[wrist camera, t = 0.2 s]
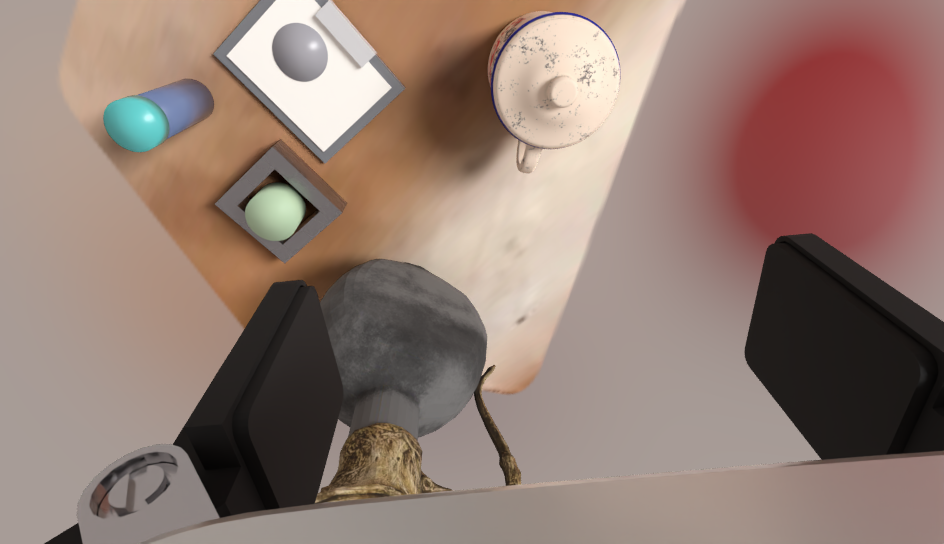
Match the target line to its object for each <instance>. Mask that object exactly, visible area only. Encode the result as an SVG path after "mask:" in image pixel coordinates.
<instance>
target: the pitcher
mask: <svg viewBox="0 0 944 544" xmlns="http://www.w3.org/2000/svg"><path fill="white" fill-rule="evenodd" d="M320 305H321V309H322V313H323V316H324V320H325V323H326V327H327V330H328V334H329V338H330V341H331V345H332V348H333V352H334V356H335V359H336V363H337V366H338V370H339V373H340V377H341V381H342V385H343V402H342V406H341V410H340V413H339V417H338V419H339V420H340V421H342V422H343V423H345V424H347V425H348V426H349V427H350V431H349V436H348V438H347V440H346V442H345V444H344V446H343V448H342V450H341V452H340V460H339V467H338V471H337V473H336V475H335V477H334V478H333V480H332V481H331V483H330V485H329V486H326V487H323V488H322V489H321V492H320V493H318V494H317V498H316V501H315V504H318V503H326V502H337V501H347V500H357V499H368V498H378V497H389V496H399V495H411V494H422V493H433V492H444V491H453V490H451V489H448V488H444V487H442V486H439V485H437V484H435V483H434V482H433V481H432V480H431V479H430V478H428V477H427V476H426V475H425V474H424V473H423V472H422V471H421V461H422V450H421V447H420V445H419V443H418V442H417V440H418V437H422V436H424V435H426V434H429V433H431V432H434V431H436V430H438V429H439V428H441V427H442V426H444V425H445V424H446V423H448V422H449V421H451V420H452V419H453V418H455V417H456V416H457V415H458V413H460V411H461V410H462V409H463V408H464V407H465V406H466V404H467V403H468V401H469V400H470V399H471V397H472V395H473V393H474V396H475V401H476V405H477V408H478V411H479V413H480V415H481V418H482V420H483V422H484V425H485V427H486V429H487V431H488V433H489V435H490V437H491V439H492V441H493V443H494V445H495V447H496V449H497V451H498V453H499V457H500V460H499V461H500V462H499V465H500V467H501V468H502V470H503V472H504V476H505V482H506V486H511V485H521V472H520V470H519V469H518V467H517V464H516V462H515V458H514V457H513V456H512V455H511V453H510V450H509V447H508V445H507V444H506V442H505V440H504V438H503V437H502V435H501V434H500V432H499V430H498V428H497V426H496V425H495V423H494V421H493V419H492V417H491V416H490V414H489V412H488V410H487V408H486V406H485V404H484V401H483V399H482V394H481V392H482V386H483V384H484V382H485V380H486V378H487V377H488V376H489V375H490V374H491V373H492V372H493V371H494V369H495V365H493V366H491V367H489V368H488V369H487V371H486V372H485V373H484V375H482V371H483V368H484V365H485V362H486V348H487V334H486V330H485V327H484V325H483V323H482V320H481V318H480V316H479V314H478V312H477V311H476V309H475V307H474V306H473V304H472V303H471V302H470V300H469V299H468V298H467V296H465V295H464V294H463V293H462V292H460V291H459V290H457V289H456V288H454V287H453V286H452V285H450V284H449V283H447V282H445V281H444V280H442V279H441V278H439V277H437V276H435V275H433V274H432V273H430V272H429V271H427V270H425V269H424V268H422V267H421V266H417V265H413V264H410V263H401V262H398V261H392V260H385V259H374V260H370V261H368V262H366V263H364V264H361V265H358V266H356V267H354V268H353V269H351V270H350V271H348V272H347V273H345V274H344V275H343V276H342V277H340V278H339V279H338V280H337V281H336V282H335V283H334V284H333V285H332V286H331V287H330V288H329V289H328V291H327V292H326V294H325V295H324V297H323V299H322V300H321V302H320ZM481 375H482V376H481Z"/></svg>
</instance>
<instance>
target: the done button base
mask: <svg viewBox="0 0 944 544" xmlns="http://www.w3.org/2000/svg"><path fill="white" fill-rule="evenodd" d="M273 170H276V171H277V172H278V173H279V174H280V175H281V176H283V177H284V178H285V179H286V180H287V181H288V182H289V183H290V184H291V185H292V186H293V187H294V188H296V189H297V190H298V191H299V192H300V193H301V194H302V195H303V196H304V197H305V198H306V199H307V200H308V201H310V202H311V203H312V204H313V205H314V206H315V207H316V208H317V210H316V211H315V212H314V213H313V214H312V215H311V216H310V217H308V218H307V219H306V220H305V221H304V222H303V223H302V224H301V225H300V226H298V227H297V229H296V230H295V232H294V233H293V234H292V235H291V236H290V237H289V238H287V239H285V240H281V241H270V240H266V239H264V238H261V237H260V236H258V235H257V234H255V233H254V232H253V231H252V230H251V228H250V227H249V226H248V224H247V221H246V218H245V210H246V206H247V204H248V203H249V201H250V200H251V199H249V198H248V197H247V196H248V195H249V194H250V193H251V192H252V191H253V190H254V189H255V188H256V187H257V186H258V185H259V184H260V183H261V182H262V181H263V180H264V179H265V178H266V177H267V176H268V175H269V174H270V173H271V172H272V171H273ZM346 204H347V202H345V201H344V200H343V199H342V198H341V197H340V196H339V195H338V194H337V193H336V192H335V191H334V190H333V189H332V188H331V187H330V186H329V185H328V184H327V183H326V182H325V181H324V180H323V179H322V178H320V177H319V176H318V175H317V174H316V173H315V172H314V171H313V170H312V169H311V168H310V167H309V166H308V165H307V164H306V163H305V162H304V161H303V160H302V159H301V158H300V157H299V156H298V155H297V154H296V153H294V152H293V151H292V150H291V149H290V148H289V147H288V146H287V145H286V144H285V143H284V142H283V141H282V140H279V141H278V142H277V143H276V144H275V145H274V146H273V147H272V148H271V149H270V150H269V151H268V152H267V153H266V154H265V155H264V156H263V157H262V158H261V159H260V160H259V161H258V162H257V163H256V164H255V165H253V166H252V167H251V168H250V169H249V170H248V171H247V172H246V173H245V174H244V175H243V176H242V177H241V178H240V179H239V180H238V181H237V182H236V183H235V184H234V185H233V186H232V187H231V188H230V189H229V190H228V191H227V192H226V193H225V194H224V195H223V196H222V197H221V198H220V199H219V200H218V201H217V202H216V203H215V205H216V206H217V207H218V208H220V209H221V210H222V211H223V212H224V213H226V214H227V215H228V216H229V217H230V218H232V219H233V220H234V221H235V222H236V223H237V224H239V225H240V226H241V227H242V228H243V229H245V230H246V231H247V232H248V233H249V234H251V235H252V236H253V237H254V238H255V239H256V240H258V241H259V242H260V243H261V244H262V245H264V246H265V247H266V248H267V249H268V250H270V251H271V252H272V253H273V254H274V255H275V256H277V257H278V258H279V259H280V260H281V261H283V262H284V263H286V262H287V261H288V260H289V259H290V258H291V257H293V256H294V255H295V254H296V253H297V252H298V251H299V250H301V249H302V248H303V247H304V246H305V245H306V244H307V243H309V242H310V241H311V240H312V239H313V238H314V237H315V236H317V235H318V234H319V233H320V232H321V231H322V230H323V229H324V228H326V227H327V226H328V225H329V224H330V223H331V222H332V221H334V220H335V219H336V218H337V217H338V216H339V215H340V214H342V212H343V210H344V208H345V206H346Z"/></svg>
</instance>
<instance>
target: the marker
mask: <svg viewBox="0 0 944 544" xmlns="http://www.w3.org/2000/svg"><path fill="white" fill-rule="evenodd" d="M213 109H214V101H213V97H212V95H211V93H210V91H209V90H208V89H207V88H206V86H204V85H203V84H202V83H200V82H198V81H196V80H193V79H183V80H180V81H177V82H174V83H171V84H168V85H165V86H162V87H159V88H156V89H154V90H151V91H148V92H145V93H142V94H139V95H133V96H128V97H125V98H122V99H119V100H116V101H114V102H112V103H110V104H109V105H108V106H107V107H106V109H105V111H104V117H103V119H104V125H105V128H106V130H107V132H108V134H109V135H110V137H111V138H112V139H113V140H114V141H115V142H116V143H117V144H118V145H120V146H121V147H123V148H125V149H127V150H130V151H133V152H145V151H148V150H150V149H152V148H154V147H156V146H158V145H160V144H162V143H163V142H164V141H165V140H166V139H168V138H170V137H172V136H174V135H175V134H177V133H179V132H181V131H183V130H185V129H187V128H189V127H191V126H192V125H194V124H196V123H198V122H200V121H202V120H204V119H206V118H207V117H209V116H210V115H211V113H212V112H213Z"/></svg>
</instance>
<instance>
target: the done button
mask: <svg viewBox="0 0 944 544" xmlns="http://www.w3.org/2000/svg"><path fill="white" fill-rule="evenodd" d="M305 213H306V204H305V201H304V198H303V197H302V195H301V194H300V193H299V192H298V190H296V189H295V188H294V187H292V186H290V185H288V184H285V183H280V182H275V183H270V184H267V185H266V186H264V187H263V188H262V189H261V190H260V191H259V192H258V193H257V194H256V195H255V196H254V197H253V198H252V199H251V200H250V201H249V203H248V204H247V206H246V210H245V218H246V221H247V224H248V226H249V227H250V228H251V230H252V231H253V232H254V233H255V234H257V235H258V236H260V237H261V238H264V239H266V240H270V241H281V240H285V239H287V238H289V237H290V236H291V235H292V234H293V233H294V232H295V230H296V229H297V227H298V225H299V224H300V222H301V221H302V219H303V218H304V216H305Z"/></svg>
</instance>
